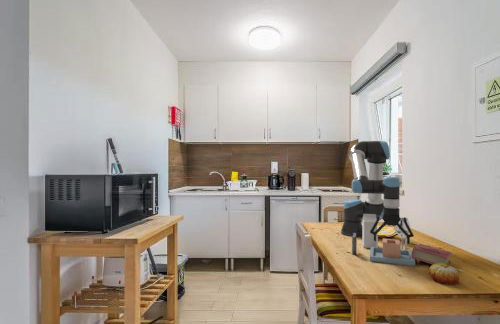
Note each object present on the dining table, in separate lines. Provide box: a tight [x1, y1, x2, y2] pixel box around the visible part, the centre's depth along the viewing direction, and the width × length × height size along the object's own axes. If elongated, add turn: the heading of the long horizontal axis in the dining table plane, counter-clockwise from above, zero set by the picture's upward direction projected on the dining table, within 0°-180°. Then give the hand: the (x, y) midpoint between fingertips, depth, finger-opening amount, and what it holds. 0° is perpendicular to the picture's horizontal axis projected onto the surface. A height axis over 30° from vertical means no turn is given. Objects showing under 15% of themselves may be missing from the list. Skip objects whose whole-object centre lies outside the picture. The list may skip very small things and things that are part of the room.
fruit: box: [428, 263, 460, 285], centre depth 132 cm, size 11×10×8 cm
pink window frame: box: [382, 238, 401, 259], centre depth 162 cm, size 14×8×8 cm, turn 158°
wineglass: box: [393, 217, 411, 250], centre depth 177 cm, size 8×8×18 cm
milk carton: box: [361, 214, 378, 249], centre depth 186 cm, size 7×7×19 cm
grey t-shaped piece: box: [351, 233, 358, 256], centre depth 170 cm, size 5×2×11 cm, turn 158°
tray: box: [369, 247, 416, 267], centre depth 163 cm, size 20×20×2 cm
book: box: [411, 243, 453, 266], centre depth 156 cm, size 14×15×5 cm
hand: (391, 248), depth 163 cm, fingers open, 13 cm apart
